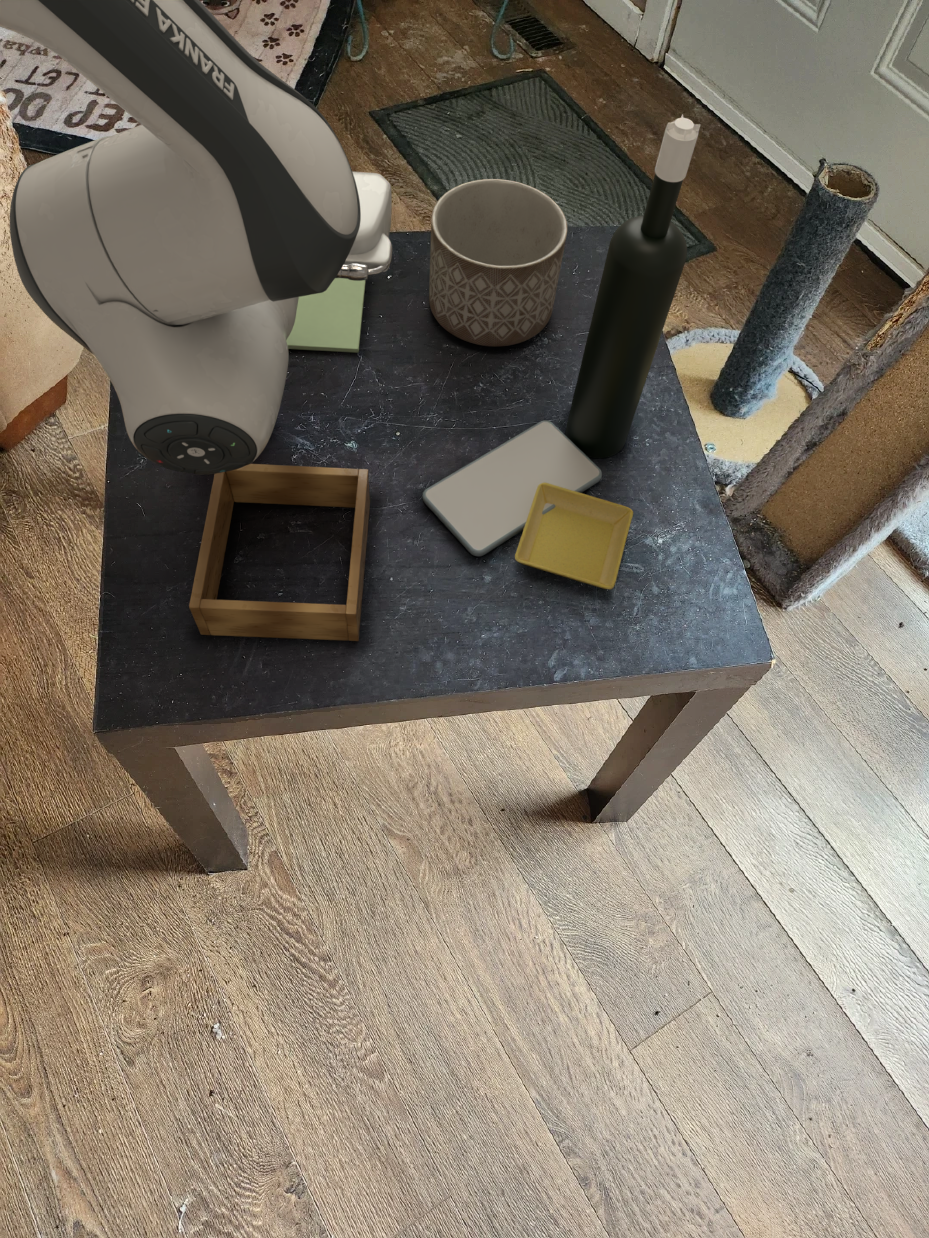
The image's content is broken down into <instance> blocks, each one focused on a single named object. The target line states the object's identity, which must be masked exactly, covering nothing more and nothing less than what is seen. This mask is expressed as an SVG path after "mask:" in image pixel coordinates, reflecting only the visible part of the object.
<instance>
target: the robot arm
mask: <svg viewBox="0 0 929 1238" xmlns="http://www.w3.org/2000/svg"><path fill="white" fill-rule="evenodd" d="M0 28H2V29H5V30H9V31H11V32H14V33H17V34H19V35H21V36H23V37H26V38H27V39H30V40H32V41H33V42H36V43H38V44H39V45H40V46H43V47H44V48H46V49H48V50H49V51H51V52H53V53H54V54H55V55H57V56H59V57H60V58H61V59H62V60H64V61H65V62H66V63H67V64H69V66H71V68H73V69H75V70H76V71H77V72H78V73H80V74H81V75H82V76H83V77H84V78H85V79H86V80H88V81H89V82H90V83H91V84H92V85H93V86H95V87H96V88H97V89H98V90H100V91H101V92H102V93H103V94H104V95H105V96H107V97H108V98H109V99H110V100H112V101H113V102H114V103H115V104H116V105H118V106H119V107H120V108H121V109H122V110H124V111H125V112H126V113H127V114H128V115H129V116H131V118H133V119H134V120H135V121H136V122H137V123H139V125H137V126H134V127H132V128H129V129H125V130H124V131H121V132H118V133H115V134H112V135H108V136H104V137H100V138H97V139H94V140H92V141H88V142H87V143H83V144H81V145H79V146H76V147H73V148H71V149H68V150H66V151H63V152H60V153H58V154H56V155H53V156H51V157H48V158H46V159H44V160H41V161H40V162H39V161H38V162H36V163H33V164H30V165H29V166H27V167H25V168H24V169H23V170H22V172H21V173H20V175H19V177H18V179H17V181H16V183H15V185H14V189H13V193H12V196H11V200H10V206H9V207H10V209H9V235H10V243H11V249H12V254H13V259H14V263H15V266H16V270H17V273H18V275H19V278H20V281H21V283H22V285H23V287H24V289H25V290H26V292H27V294H28V295H29V296H30V298H31V299H32V301H33V302H34V303H35V304H36V306H38V308H39V309H40V310H41V312H43V314H45V316H46V317H47V318H48V319H49V320H50V321H51V322H52V323H53V324H54V325H56V326H57V327H58V328H59V329H60V330H62V331H63V332H64V333H65V334H67V335H68V336H69V337H70V338H71V339H73V340H74V341H75V342H77V344H79V345H81V346H82V347H83V348H84V349H86V350H87V351H88V352H89V353H91V354H92V355H93V356H94V357H95V359H96V360H97V362H98V363H99V365H100V366H101V367H102V369H103V371H104V372H105V374H106V375H107V378H108V379H109V380H110V383H111V385H112V386H113V388H114V391H115V392H116V395H117V398H118V401H119V403H120V407H121V412H122V416H123V421H124V426H125V430H126V433H127V436H128V438H129V441H130V442H131V444H132V445H133V446H134V448H135V449H136V450H137V452H138V453H140V454H141V455H142V456H143V457H144V458H146V460H148V461H150V462H152V463H153V464H156V465H158V466H160V467H163V468H165V469H168V470H171V471H175V472H177V473H178V472H179V473H185V474H190V475H196V476H206V475H214V474H216V473H222V472H227V471H231V470H235V469H239V468H242V467H244V466H246V465H249V464H253V463H254V462H255V461H256V460H257V459H258V458H259V456H260V455H261V454H262V453H263V452H264V450H265V448H266V446H267V445H268V443H269V441H270V438H271V436H272V433H273V431H274V428H275V425H276V423H277V418H278V415H279V412H280V408H281V405H282V401H283V396H284V391H285V387H286V380H287V377H288V376H287V374H288V369H289V361H290V360H289V358H290V355H289V353H290V352H289V349H288V346H287V341H286V340H287V338H288V336H289V335H290V333H291V331H292V329H293V326H294V323H295V318H296V313H297V306H298V300H299V297H301V296H306V295H312V294H317V293H323V292H325V291H326V290H327V289H328V287H329V286H330V284H331V283H332V282H333V280H334V279H335V278H345V279H349V280H353V281H362V280H365V281H367V280H368V279H369V276H375V275H378V274H381V273H385V272H387V271H388V270H389V269H390V266H391V263H392V260H393V259H392V258H393V244H392V241H391V239H390V233H391V228H392V214H393V213H392V212H393V211H392V210H393V209H392V208H393V197H392V195H393V193H392V184H391V183H390V182H389V181H388V180H387V178H386V177H384V176H383V175H382V174H380V173H378V172H366V171H364V172H363V171H353V169H352V167H351V164H350V162H349V159H348V156H347V155H346V152H345V149H344V147H343V146H342V143H341V141H340V140H339V138H338V136H337V134H336V133H335V131H334V129H333V128H332V126H331V125H330V123H329V122H328V120H327V119H326V118H325V116H324V115H323V114H322V113H321V112H320V110H319V109H318V108H317V107H316V106H315V105H314V104H313V103H312V102H310V101H309V100H308V99H307V98H306V97H305V96H304V95H302V94H301V93H300V92H299V91H298V90H297V89H295V88H294V87H292V86H291V85H290V84H288V83H287V82H285V81H284V80H283V79H282V78H281V77H279V76H278V75H276V74H275V73H273V71H271V70H269V69H268V68H267V67H266V66H264V65H263V64H262V63H261V62H260V61H259V60H257V59H256V58H255V57H254V56H253V55H252V54H251V53H249V51H248V50H247V49H246V48H245V47H244V46H243V45H242V44H241V43H240V42H239V41H238V40H237V39H236V37H234V36H233V35H232V34H231V32H229V30H228V29H227V28H226V27H225V26H224V25H223V24H222V23H221V21H220V20H218V18H216V16H215V15H214V14H213V13H212V12H211V11H210V10H209V9H208V7H206V5H205V4H204V3H202V1H201V0H0Z"/></svg>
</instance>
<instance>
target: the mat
mask: <svg viewBox="0 0 929 1238" xmlns="http://www.w3.org/2000/svg"><path fill="white" fill-rule="evenodd" d="M365 292H366V280H362V281H353V280H349V279H347V278H335V279H334V280H333V282H332V283H331V284H330V286H329V287H328V289H327V290H326V291H325V292H323V293H317V294H312V295H306V296H301V297H299V300H298V306H297V313H296V318H295V323H294V326H293V329H292V331H291V333H290V335H289V336H288V338H287V340H286V341H287V346H288V350H301V351H302V350H303V351H320V352H321V351H323V352H341V353H359V352H360V344H361V343H360V342H361V331H362V323H363V322H362V321H363V312H364V302H365Z"/></svg>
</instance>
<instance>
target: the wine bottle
mask: <svg viewBox="0 0 929 1238" xmlns="http://www.w3.org/2000/svg"><path fill="white" fill-rule="evenodd" d="M700 128H701V123H699V124H697V123H694V122H693V121H692V120H691V119H689V118H687V117H684V114H683V113H682V114H681V117H679V118H675V120H673V121H670V122H667V124H666V125H665V130H664V132H663V137H662V140H661V144H660V149H659V151H658V156H657V160H656V164H655V167H654V176H653V179H652V184H651V188H650V192H649V195H648V198H647V201H646V202H647V203H646V206H645V210H644V214H643V215H637V216H633V217H631V218H629V219H627V220H625V221H624V222H622V223H621V224H620V225H619V226H618V227H617V229H616V230H615V231H614V232H613V234H612V235H611V239H610V241H609V245H608V249H607V253H606V258H605V261H604V265H603V271H602V275H601V279H600V282H599V288H598V292H597V296H596V300H595V304H594V308H593V312H592V316H591V321H590V325H589V330H588V334H587V338H586V342H585V346H584V350H583V355H582V358H581V363H580V367H579V372H578V375H577V379H576V384H575V388H574V393H573V396H572V402H571V405H570V408H569V409H570V410H569V413H568V417H567V421H566V426H565V436H566V437H567V438H569V439H570V440H571V441H572V442H573V443H574V444H575V445H576V446H577V447H578V448H579V449H580V450H581V451H582V452H583V453H584V454H585V455H586V456H587V457H588V458H593V459H605V458H610V457H613V456H615V455H617V454H618V453H619V452H620V451H621V450H622V449H623V448H624V446H625V444H626V442H627V439H628V436H629V432H630V429H631V427H632V423H633V421H634V418H635V414H636V412H637V410H638V409H637V408H638V406H639V403H640V400H641V396H642V393H643V390H644V388H645V385H646V382H647V378H648V376H649V373H650V369H651V367H652V364H653V360H654V357H655V354H656V352H657V348H658V346H659V343H660V339H661V336H662V334H663V330H664V328H665V325H666V322H667V318H668V316H669V313H670V309H671V307H672V303H673V300H674V298H675V295H676V292H677V288H678V285H679V282H680V279H681V276H682V273H683V270H684V267H685V265H686V261H687V257H688V246H687V241H686V238H685V236H684V234H683V232H682V231H681V229H680V228H679V227H678V226H677V225H676V223H674V222H673V221H672V218H673V215H674V212H675V209H676V205H677V202H678V198H679V195H680V192H681V189H682V185H683V182H684V180H685V178H686V177H687V173H688V170H689V167H690V163H691V160H692V157H693V154H694V150H695V147H696V144H697V140H698V137H699V134H700V133H699V131H700Z"/></svg>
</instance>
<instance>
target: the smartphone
mask: <svg viewBox="0 0 929 1238" xmlns="http://www.w3.org/2000/svg"><path fill="white" fill-rule="evenodd" d="M602 476H603V472H602V470H601V468H600V467H598V466H597V464H596V463H595V462H593V461H592V459H590V457H588V456H586V455H585V454H584V453H583V452H582V451H581V450H580V449H579V448H578V447H577V446H576V445H575V444H574V443H573V442H572V441H571V440H570V439H569V438H567V437H566V434H564V432H563V431H562V430H561V429H559V427H557V426H556V425H555V424H554V422H552V421H550V420H547V419H546V420H541V421H539V422H537V423H536V424H533V425H532V426H531V427H529V428H527V429H525V430H523V431H522V432H521V433H519V434H516V435H515V436H514V437H511V438H510V439H507V441H505V442H504V443H502V444H500V445H498V446H497V447H495V448H493V449H491V450H490V451H488V452H487V453H485V454H483V455H481V456H480V457H478V458H476V459H474V460H473V461H471V462H469V463H467V464H466V465H464V466H462V467H461V468H459V469H458V470H456V471H453V472H452V473H451V474H449V475H448V476H445V477H444V478H442V479H441V480H439V481H437V482H435V483H434V484H433V485H430V486H429V487H427V488H426V489H424V490H423V492H422V501H423V503H424V504H425V505H426V506H427V507H428V508H429V509H430V510H431V511H432V513H433V514H434V515H435V516H436V517H437V518H438V519H439V521H441V522H442V524H443V525H444V526H445V527H446V528H447V529H448V530H449V531H450V533H452V535H453V536H454V537H455V538H456V539H457V540H458V541H459V543H460V544H461V545H462V546H463V547H464V548H465V549H466V550H467V551H468V552H469V554H471V556H474V557H482V556H484V555H486V554H488V553H490V552H491V551H492V550H494V549H495V548H497V547H499V546H500V545H502V544H504V543H505V542H506V541H508V540H510V539H511V538H513V537H514V536H516V535H517V534H520V533H521V532H523V530H524V527H525V524H526V521H527V518H528V515H529V512H530V508H531V505H532V502H533V499H534V496H535V493H536V490H537V487H538V485H539V484H541V483H544V482H545V483H549V484H552V485H556V486H560V487H563V488H566V489H569V490H572V491H576V492H579V493H582V494H583V492H585V491H586V490H588V489H590V488H591V487H593V486H595V485H596V484H597V483H599V482H600V481H601V479H602V478H603V477H602ZM553 508H555V505H554V504H549V503H546V504H545V506H544V509H543V511H542V514H545V513H547V512H549V511H550V510H552V509H553Z"/></svg>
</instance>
